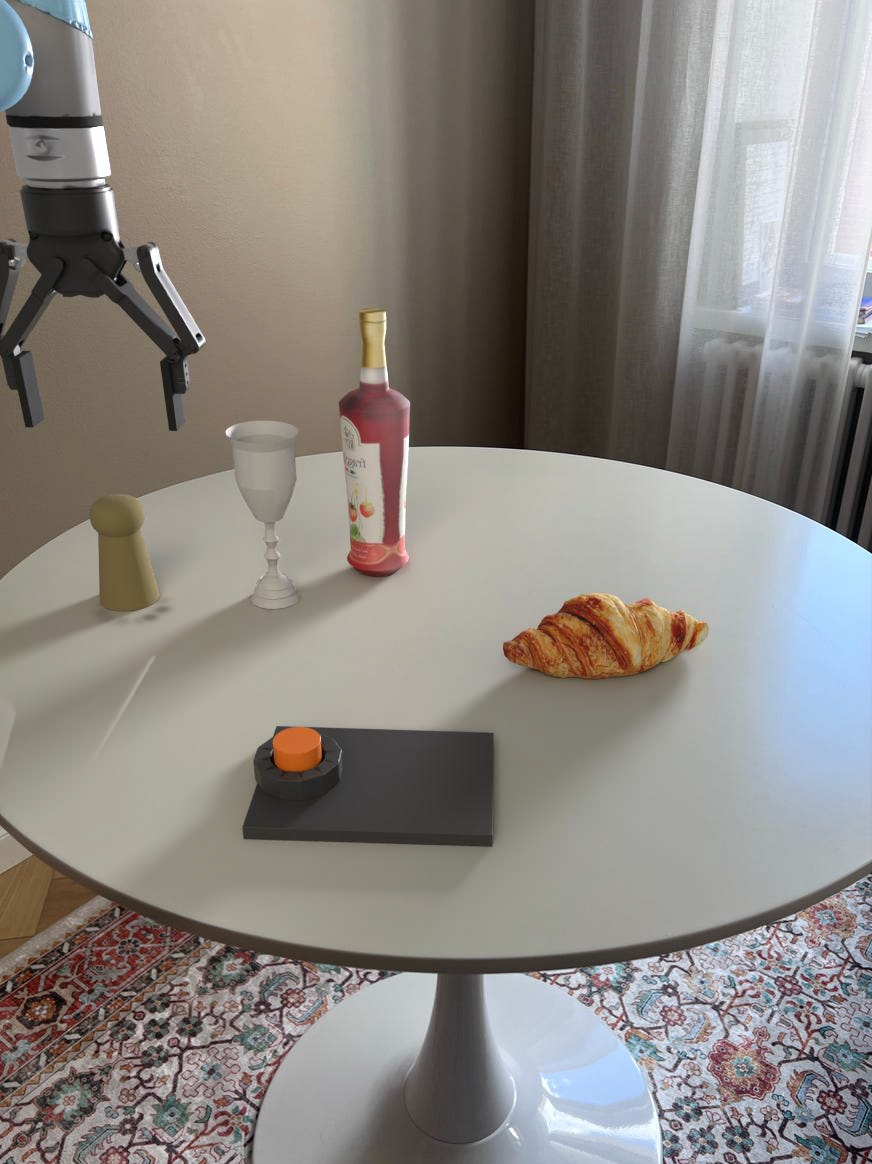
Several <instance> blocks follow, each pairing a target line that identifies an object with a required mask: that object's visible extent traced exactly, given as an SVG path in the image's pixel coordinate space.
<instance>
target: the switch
mask: <svg viewBox="0 0 872 1164" xmlns="http://www.w3.org/2000/svg"><path fill="white" fill-rule="evenodd" d="M306 727H307V726H293V728H288V729H285V730H283V731H281V732H279V733H278V734H277V735H276V736H275V737H274V739H273V753H274V762H275V765H276V766H277V767H278V768H279V769H281V770H284V771H297V772H301V771H304V770H308V769H311V768H315V767H316V766H317V765H318V764H319V763H320V762H321V759H322V752H321V737H320V735H319V734H318V733H317V732H316V731H315V730H313V729H310V728H306Z"/></svg>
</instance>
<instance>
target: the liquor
mask: <svg viewBox="0 0 872 1164" xmlns="http://www.w3.org/2000/svg"><path fill="white" fill-rule="evenodd" d="M358 329H359V333H360V338H361V342H362V343H361V359H360V371H359V372H360V374H359V385H358V386H359V387H358V388H355V389H353V390H350V391H349V392H347V393H346V395H344V396H343V397H342V398H341V399H339V401H338V409H339V420H340V435H341V449H342V457H343V467H344V476H345V486H346V498H347V510H348V511H347V512H348V513H347V514H348V526H349V527H348V528H349V541H350V545H349V546H350V551H349V553H348V554H347V557H346V561H347V563H348V564H349V565H351V566H352V567H353V568H354V569H356V570H357V571H358V572H359V573H360V574H362V575H364V576H366V577H367V576H368V577H373V578H382V577H388V576H392V575H394V574H395V573H396V572H398V571H399V570H400V569H401V568H403V567H404V565H406V564H407V563H408V562H409V559H410V557H409V554H408V552H407V550H406V512H407V511H406V507H407V506H406V505H407V483H408V465H409V447H410V446H409V445H410V444H409V443H410V414H411V401H410V400H409V399H408V398H406V396H405V395H403V394H402V393H401V392H399V391H398V390H395V389H393V388H390V385H389V377H388V376H389V375H388V365H387V355H386V348H385V342H386V341H385V340H386V334H387V311H386V309H381V308H372V307H371V308H362V309H359V310H358Z"/></svg>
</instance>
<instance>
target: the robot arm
mask: <svg viewBox="0 0 872 1164" xmlns="http://www.w3.org/2000/svg"><path fill="white" fill-rule="evenodd" d="M91 29H92V28H91V25H90V19H89V14H88V9H87V4H86V0H0V112H3V111H4V112H5V121H6V125H7V127H8V132H9V138H10V144H11V150H12V155H13V160H14V167H15V172H16V176H17V177H19V178H20V179H21V180H23V181H25V183H26V184H24V185H22V186H21V189H20V190H19V193H20V194H19V195H20V200H21V205H22V210H23V215H24V216H23V217H24V221H25V226H26V230H27V232H28V238H29V240H28V243H20V242H18V241H17V240H16V239H14V238H6V239H4V240H1V241H0V358H1V361H2V365H3V371H4V374H5V379H6V384H7V386H8V388H9V390H11V391H17V393H18V398H19V404H20V408H21V413H22V418H23V423H24V428H35V427H36V426H37V425H39V424H40V423H41V422H42V421H44V420H45V415H44V409H43V404H42V400H41V399H42V398H41V393H40V389H39V384H38V383H39V382H38V378H37V374H36V368H35V364H34V363H35V362H34V359H33V354H32V350H22V349H23V348H24V346H25V345H24V344H25V343H26V341H27V340H28V338H29V336H30V335H31V333H32V332H33V330H34V329H35V327H36V325H37V324H38V322H39V320H40V319H41V318H42V316H43V314H44V313H45V311H46V310H47V308H48V307H49V305H50V304H51V302H52V301H53V300H54V298H55V297H56V295H58V294H60V295H62V297H63V298H73V297H74V298H75V297H77V296H83V297H86V298H89V299H90V298H91V299H95V298H96V299H98V298H100V297H102V296H104V295H105V296H106V297H107V298H108V299H109V300H110V301H111V302H112V303H114V304H116V305H117V306H118V307H120V308H121V310H123V312H125V314H126V315H127V316H128V317H129V318H130V319H131V320H132V321H133V322H134V323H135V324H136V325H137V327H139V328H140V330H142V332H143V333H145V335H146V336H147V337H148V338H149V339H150V340H151V341H152V342H153V343H154V344H155V345H156V346H157V347H158V349H160V350H161V352H163V353H164V355H165V356H164V357H163V358H162V359H160V361H159V366H160V374H161V380H162V387H163V388H162V390H163V395H164V403H165V409H166V410H165V411H166V419H167V425H168V431H169V432H178V431H179V430H180V428H181V427H182V426H183V425H184V424H185V423H186V421H185V414H184V406H183V405H184V403H183V397H182V395H185V394H186V393H187V392H188V391H189V390H190V387H191V381H190V373H189V364H188V363H189V362H188V356H190V355H195V354H198V352H200V351H201V350H202V349H203V347H205V345H206V343H207V341H206V337H205V336H204V334H203V333H202V331H201V330H200V328H199V326H198V324H197V323H196V321H195V319H194V317H193V316H192V314H191V313H190V311H189V309H188V307H187V306H186V304H185V302H184V301H183V299H182V297H181V296H180V294H179V292H178V291H177V289H176V288H175V285H174V284H173V282H172V281H171V279H170V278H169V276H168V274H167V272H166V271H165V269H164V267H163V262H162V259H161V254H160V249H159V246H158V244H157V243H155V242H154V241H148V242H146V243H144V244H142V245H131V246H125V245H124V243H123V242H122V239H121V236H120V229H119V221H118V213H117V207H116V200H115V193H114V188H113V187H111V185H110V184H108V183H106V179H108V178H110V176H111V175H112V172H111V164H110V158H109V151H108V146H107V139H106V133H105V126H104V120H103V115H102V109H101V101H100V93H99V85H98V78H97V77H98V76H97V71H96V68H97V67H96V61H95V53H94V46H93V41H94V36H93V32H92V30H91ZM27 259H28V260H29V262H30V263H31V264H32V266H33V267H34V268H35V269H36V270H37V271H38V273H39V274H40V276H39V278H38V280H37V281H36V283H35V284H34V286H33V288H32V289H31V291H30V294H29V297H28V298H27V299H26V301H25V303H24V304H23V306H22V308H21V309H20V311H19V312H18V314H17V315H16V317H15V318H14V320H13V322H12V323H11V325H10V326H9V327H8V329H7V330H6V332H5V334H3V332H4V330H5V325H6V322H7V318H8V316H9V312H10V308H11V304H12V301H13V298H14V294H15V290H16V287H17V284H18V280H19V276H20V273H21V268H23V267H24V266H25V265H26V263H27ZM127 262H129V263H131V264H132V266H133V268H134V269H135V271H137V272H139V273H141V275H142V277H143V280H144V282H145V283H146V285H147V287H148V289H149V290H150V292H151V294H152V295H153V297H154V298H155V300H156V302H157V303H158V305H159V307H160V308H161V310H162V312H163V313H164V315H165V317H166V319H167V321H169V323H170V325H171V326H172V328H173V329H172V328H171V326H170V325H168V323H167V322H166V321H165V320H164V319H163V318H162V317H161V316H160V315H159V314H158V313H157V312H156V310H155V309H153V307H152V306H151V305H150V304H149V303H148V302H147V301H146V299H144V298H143V297H142V296H141V294H139V292H138V291H136V288H135V286H134V284H133V283H132V282H131V281H130V279H128V278H127V277H126V275H124V274H123V272H122V271H123V270H124V268H125V266H126V264H127ZM21 350H22V351H21Z"/></svg>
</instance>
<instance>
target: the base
mask: <svg viewBox="0 0 872 1164" xmlns="http://www.w3.org/2000/svg"><path fill="white" fill-rule="evenodd" d="M293 727H294V726H290V725H276V726H275V729H274V732H273V735H272V736H271V738H269V739H267V740H266V741H265V742H264V743H262V744H260V745H259V746H258V747H257V749H256V751H255V755H254V758H253V761H252V762H253V771H254V772H253V773H254V780H255V782H256V786H255V789H254V792H253V795H252V798H251V801H250V803H249V807H248V809H247V812H246V815H245V818H244V820H243V821H244V822H243V824H242V828H241V829H242V836H243V840H250V841H251V840H253V841H257V840H258V841H284V842H285V841H287V842H318V843H320V842H322V843H323V842H324V843H351V844H353V843H354V844H383V845H412V846H413V845H415V846H416V845H418V846H419V845H420V846H449V847H477V848H479V847H480V848H481V847H482V848H492V847H493V839H494V732H489V731H487V732H485V731H453V730H423V729H422V730H421V729H390V728H389V729H388V728H387V729H386V728H354V727H353V728H352V727H323V726H305V727H306V728H310V729H313V730H315V731H316V732H317V733H318V734H319V735H320V737H321V752H322V759H321V762H320V763H319V764H318V765H317V766H316V767H315V768H311V769H308V770H304V771H301V772H297V771H284V770H281V769H279V768H278V767H277V766H276V765H275V762H274V753H273V739H274V737H275V736H276V735H277V734H278V733H279V732H281V731H283V730H285V729H288V728H293Z"/></svg>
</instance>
